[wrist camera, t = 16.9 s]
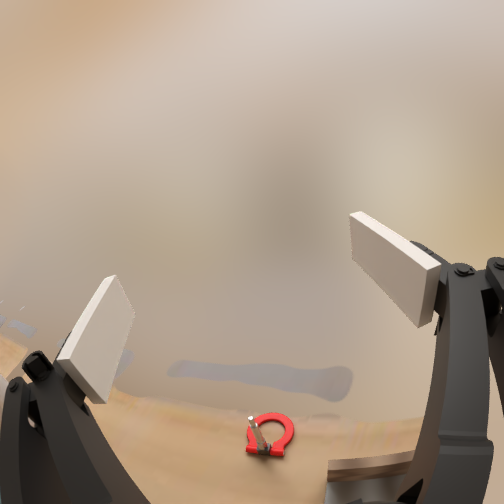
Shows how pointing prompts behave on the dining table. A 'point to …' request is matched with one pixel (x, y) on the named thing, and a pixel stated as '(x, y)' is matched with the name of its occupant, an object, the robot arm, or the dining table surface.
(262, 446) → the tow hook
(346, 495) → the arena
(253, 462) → the dining table surface
